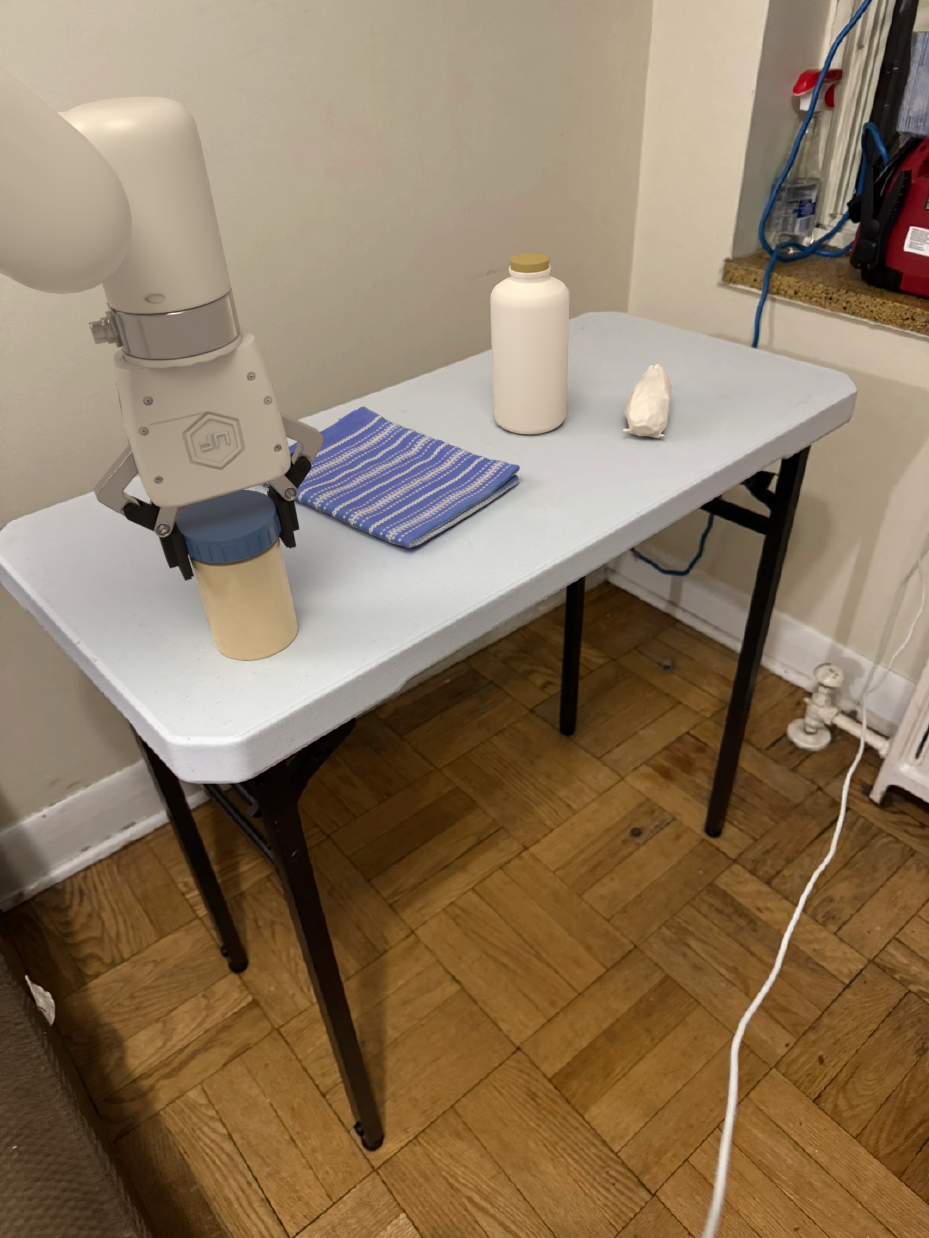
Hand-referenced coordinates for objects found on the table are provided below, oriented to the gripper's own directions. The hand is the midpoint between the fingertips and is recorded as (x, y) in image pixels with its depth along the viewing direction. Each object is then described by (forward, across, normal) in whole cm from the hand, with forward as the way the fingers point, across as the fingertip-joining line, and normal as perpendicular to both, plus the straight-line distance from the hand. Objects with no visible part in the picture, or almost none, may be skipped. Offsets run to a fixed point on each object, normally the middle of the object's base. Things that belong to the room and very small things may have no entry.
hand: (236, 553), depth 66 cm
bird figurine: (+8, +50, +13) cm, 52 cm away
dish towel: (+8, +19, +18) cm, 27 cm away
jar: (+8, 0, 0) cm, 8 cm away
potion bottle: (+8, +39, +21) cm, 45 cm away
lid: (-3, 0, 0) cm, 3 cm away
